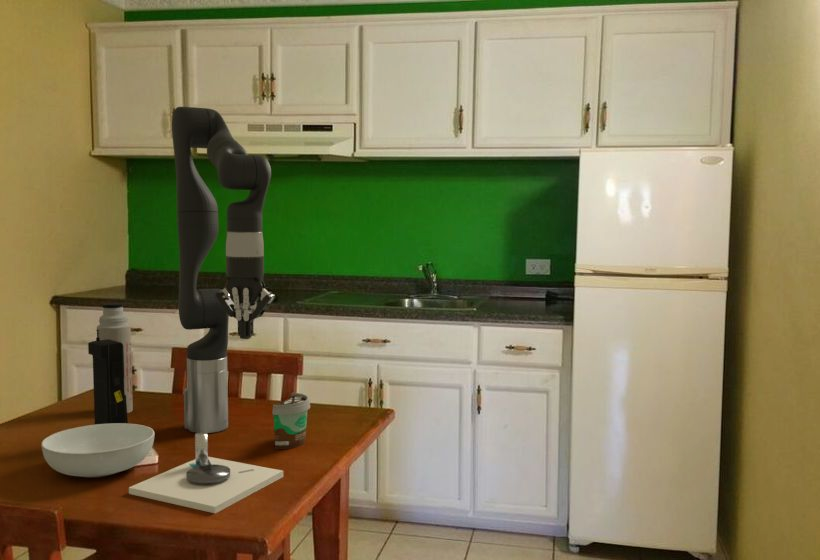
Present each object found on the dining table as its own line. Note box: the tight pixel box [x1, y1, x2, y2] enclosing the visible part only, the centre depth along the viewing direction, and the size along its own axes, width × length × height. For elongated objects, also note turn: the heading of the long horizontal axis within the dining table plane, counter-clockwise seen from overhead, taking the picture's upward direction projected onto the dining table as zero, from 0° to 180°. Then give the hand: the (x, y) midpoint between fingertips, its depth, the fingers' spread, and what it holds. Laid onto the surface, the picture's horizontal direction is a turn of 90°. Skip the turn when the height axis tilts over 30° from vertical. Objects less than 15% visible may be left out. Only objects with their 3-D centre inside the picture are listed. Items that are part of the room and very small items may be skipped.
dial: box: [186, 432, 230, 484], centre depth 144 cm, size 13×8×6 cm, turn 24°
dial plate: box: [128, 456, 284, 514], centre depth 142 cm, size 20×20×1 cm
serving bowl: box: [40, 423, 155, 478], centre depth 150 cm, size 21×21×7 cm
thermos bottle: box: [96, 302, 134, 414], centre depth 192 cm, size 8×8×28 cm
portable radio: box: [87, 329, 129, 425], centre depth 166 cm, size 8×6×25 cm
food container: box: [271, 392, 311, 450], centre depth 167 cm, size 12×6×10 cm, turn 168°
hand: (245, 338), depth 154 cm, fingers closed
